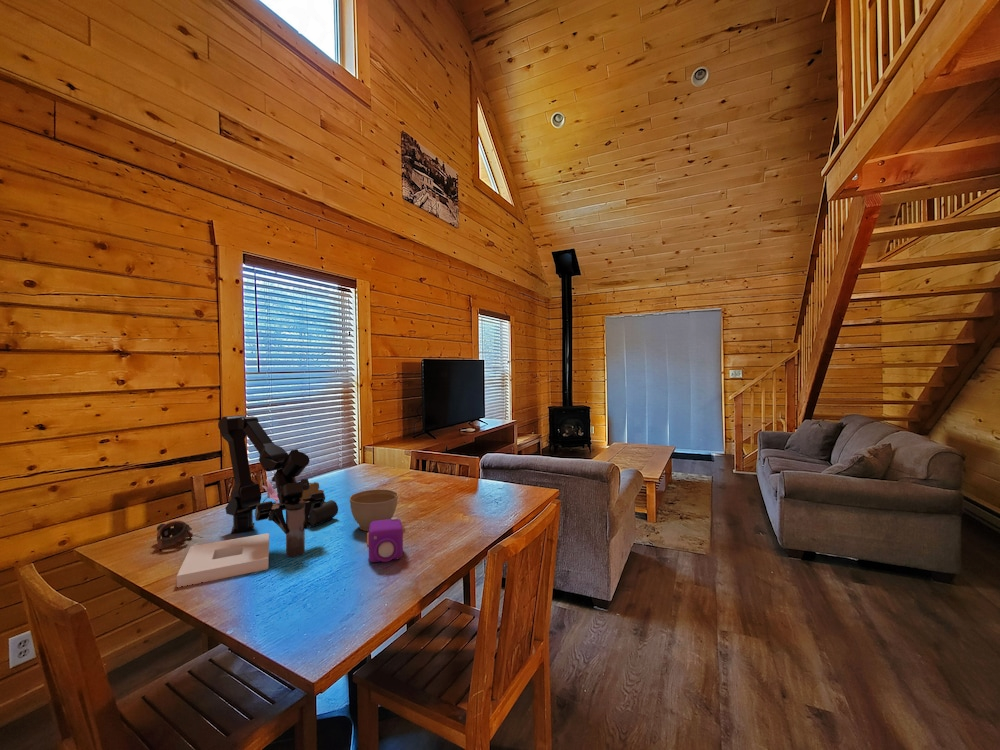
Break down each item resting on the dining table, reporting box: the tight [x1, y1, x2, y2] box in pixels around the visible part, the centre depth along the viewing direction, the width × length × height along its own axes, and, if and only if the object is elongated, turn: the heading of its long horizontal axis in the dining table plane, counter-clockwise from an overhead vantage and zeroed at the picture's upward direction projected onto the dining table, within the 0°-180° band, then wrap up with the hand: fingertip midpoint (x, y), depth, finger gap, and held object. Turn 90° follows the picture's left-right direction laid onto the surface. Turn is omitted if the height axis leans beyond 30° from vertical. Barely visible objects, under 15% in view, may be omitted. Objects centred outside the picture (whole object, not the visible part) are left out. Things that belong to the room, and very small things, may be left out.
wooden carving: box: [300, 481, 325, 500], centre depth 163 cm, size 16×5×10 cm, turn 172°
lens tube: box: [285, 500, 306, 558], centre depth 122 cm, size 5×5×15 cm
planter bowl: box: [349, 488, 399, 532], centre depth 143 cm, size 16×16×11 cm
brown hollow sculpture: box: [156, 520, 194, 550], centre depth 129 cm, size 12×10×8 cm
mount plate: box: [176, 532, 270, 588], centre depth 116 cm, size 20×20×3 cm
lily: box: [261, 479, 280, 504], centre depth 166 cm, size 12×12×10 cm
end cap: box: [307, 499, 339, 528], centre depth 147 cm, size 10×7×7 cm
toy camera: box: [366, 516, 404, 563], centre depth 119 cm, size 11×14×10 cm
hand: (296, 530), depth 121 cm, fingers closed on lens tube, 5 cm apart
